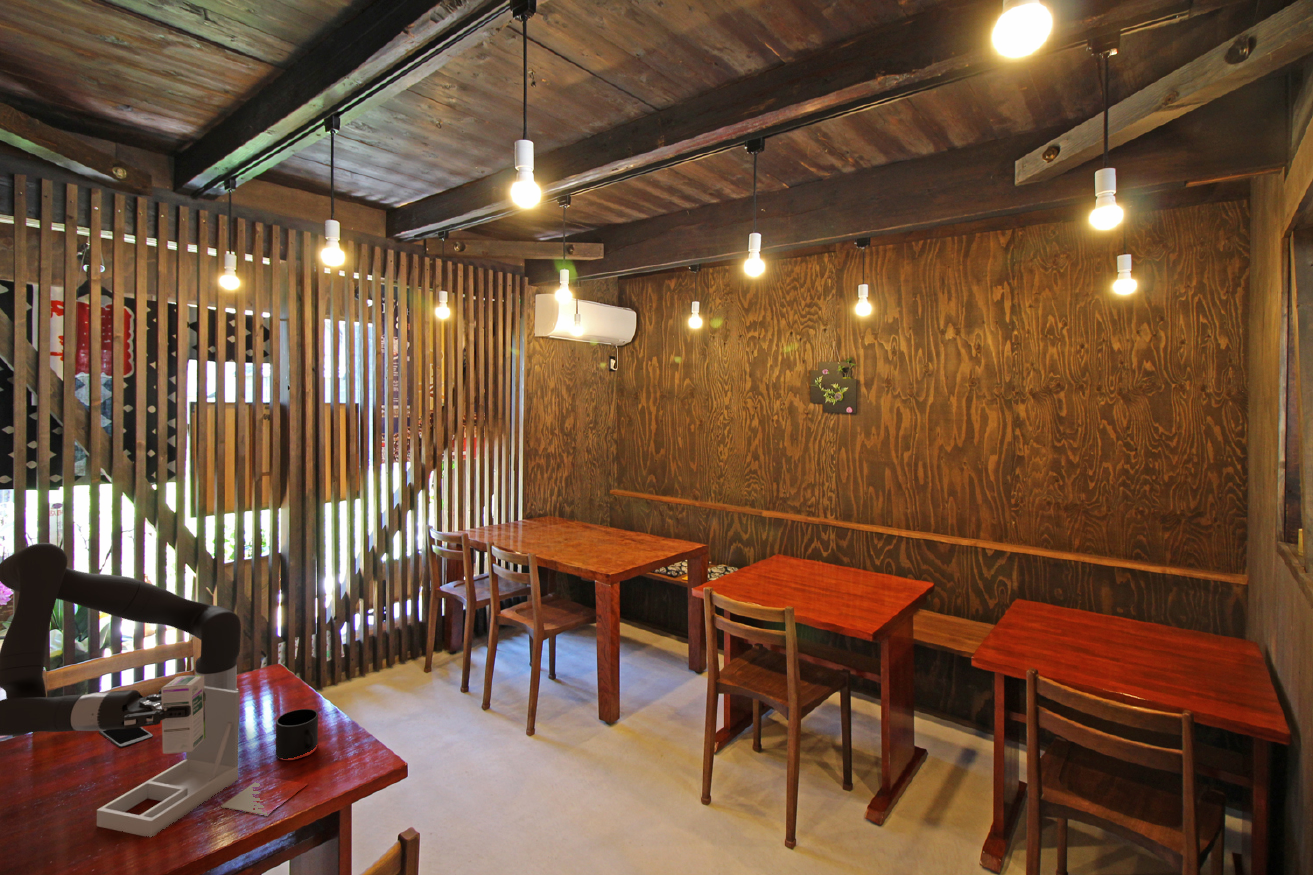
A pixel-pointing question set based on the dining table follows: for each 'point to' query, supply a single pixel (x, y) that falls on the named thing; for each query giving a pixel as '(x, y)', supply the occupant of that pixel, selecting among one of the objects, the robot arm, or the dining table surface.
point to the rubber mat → (246, 801)
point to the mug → (296, 733)
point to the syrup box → (184, 730)
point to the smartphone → (126, 736)
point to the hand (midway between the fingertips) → (197, 704)
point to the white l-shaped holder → (184, 774)
